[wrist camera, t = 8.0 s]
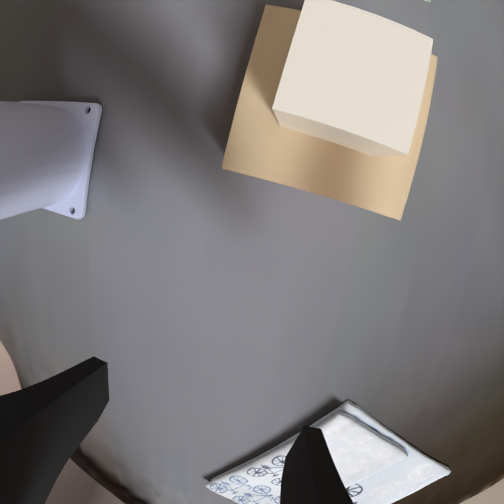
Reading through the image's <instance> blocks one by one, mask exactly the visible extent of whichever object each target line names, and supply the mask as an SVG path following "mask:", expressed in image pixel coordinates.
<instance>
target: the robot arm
mask: <svg viewBox="0 0 504 504" xmlns="http://www.w3.org/2000/svg"><path fill="white" fill-rule="evenodd" d="M89 108H91V110H90V112H89V113H88V109H89ZM101 113H102V106H101V105H100V104H98V103H87V102H67V101H19V102H9V101H0V220H1V219H4V218H8V217H11V216H14V215H18V214H21V213H25V212H28V211H32V210H35V209H39V208H43V209H47V210H50V211H53V212H56V213H59V214H62V215H66V216H69V217H72V218H75V219H82V218H83V217H84V216H85V213H86V204H87V195H88V187H89V179H90V172H91V166H92V159H93V153H94V148H95V142H96V137H97V132H98V127H99V122H100V117H101ZM73 208H74V209H75V213H74V212H73ZM108 401H109V389H108V368H107V363H106V362H104V361H102V360H100V359H98V358H96V357H92V358H90V359H88V360H85V361H83V362H81V363H79V364H77V365H75V366H74V367H72V368H70V369H68V370H65V371H63V372H61V373H59V374H57V375H55V376H53V377H51V378H49V379H46V380H44V381H42V382H39V383H37V384H34V385H32V386H29V387H27V388H24V389H22V390H19V391H16V392H12V393H9V394H5V395H2V396H0V504H45V502H46V500H47V497H48V496H49V494H50V491H51V489H52V487H53V485H54V483H55V482H56V479H57V478H58V476H59V474H60V472H61V471H62V469H63V467H64V465H65V464H66V462H67V461H68V459H69V458H70V457H71V455H72V454H73V453H74V451H75V450H76V449H77V447H78V446H79V445H80V443H81V442H82V441H83V439H84V438H85V437H86V435H87V434H88V433H89V432H90V430H91V429H92V428H93V426H94V425H95V423H96V422H97V421H98V419H99V417H100V416H101V414H102V412H103V410H104V409H105V407H106V405H107V403H108ZM280 504H354V503H353V501H352V499H351V498H350V496H349V494H348V492H347V490H346V488H345V486H344V484H343V482H342V480H341V477H340V475H339V473H338V471H337V469H336V466H335V464H334V461H333V459H332V456H331V454H330V451H329V449H328V446H327V443H326V440H325V438H324V435H323V432H322V430H321V429H320V428H315V427H309V426H303V428H302V430H301V432H300V433H299V435H298V437H297V439H296V440H295V442H294V444H293V445H292V447H291V449H290V450H289V452H288V454H287V455H286V457H285V462H284V467H283V473H282V479H281V492H280Z"/></svg>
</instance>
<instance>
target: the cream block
mask: <svg viewBox="0 0 504 504" xmlns="http://www.w3.org/2000/svg"><path fill="white" fill-rule="evenodd" d="M432 44H433V39H432V38H430V37H428V36H426V35H423V34H421V33H419V32H417V31H415V30H413V29H410V28H408V27H406V26H403V25H401V24H399V23H396V22H394V21H391V20H389V19H386V18H384V17H381V16H378V15H376V14H373V13H370V12H367V11H364V10H361V9H358V8H355V7H352V6H349V5H346V4H342V3H339V2H335V1H332V0H305V1H304V4H303V8H302V11H301V14H300V17H299V20H298V24H297V27H296V30H295V33H294V37H293V40H292V43H291V47H290V50H289V53H288V56H287V60H286V63H285V66H284V70H283V73H282V76H281V80H280V83H279V87H278V90H277V93H276V97H275V100H274V103H273V107H272V110H273V112H274V114H275V116H276V118H277V120H278V122H279V125H280V126H281V127H284V128H288V129H291V130H295V131H298V132H301V133H305V134H308V135H311V136H314V137H318V138H321V139H324V140H327V141H330V142H333V143H336V144H339V145H342V146H345V147H348V148H351V149H353V150H356V151H359V152H362V153H364V154H367V155H370V156H394V155H408V154H409V150H410V147H411V143H412V139H413V135H414V132H415V128H416V124H417V120H418V115H419V111H420V107H421V102H422V98H423V93H424V88H425V83H426V78H427V73H428V68H429V62H430V56H431V50H432Z"/></svg>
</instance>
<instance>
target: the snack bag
mask: <svg viewBox="0 0 504 504" xmlns="http://www.w3.org/2000/svg"><path fill="white" fill-rule="evenodd" d="M309 427H315V428H320V429H321V430H322V432H323V435H324V438H325V440H326V443H327V446H328V449H329V451H330V454H331V456H332V459H333V461H334V464H335V466H336V469H337V471H338V473H339V475H340V477H341V480H342V482H343V484H344V486H345V488H347V487H349V486H350V488H349V489H347V492H348V494H349V496H350V498H351V499H352V501H353V503H354V504H391V503H393V502H395V501H397V500H399V499H401V498H403V497H406V496H408V495H410V494H412V493H414V492H416V491H418V490H419V489H421V488H423V487H425V486H426V485H428V484H430V483H432V482H434V481H436V480H438V479H440V478H442V477H444V476H447V475H448V474H450V472H451V470H449V467H447V466H445V465H443V464H441V463H438V462H437V461H435V460H433V459H431V458H430V457H428V456H426V455H424V454H423V453H422V452H420V451H419V450H417V449H416V448H414V447H413V446H411V445H410V444H409V443H407V442H406V441H405V440H403V439H402V438H400V437H399V436H398V435H396V434H395V433H393V432H392V431H391V430H389V429H388V428H386V427H385V426H384V425H382V424H381V423H380V422H378V421H377V420H376V419H374V418H373V417H372V416H371V415H370V414H368V413H367V412H365V411H364V410H363V409H362V408H361V407H359V406H358V405H356V404H354V403H352V402H351V401H349V400H347V401H346V402H344V403H343V404H342V405H340V406H339V407H338V408H336V409H335V410H333V411H332V412H330V413H329V414H327V415H326V416H324V417H322V418H321V419H319V420H318V421H316V422H315V423H313V424H312V425H310V426H309ZM300 432H301V431H300ZM300 432H299V433H300ZM299 433H297V434H296V435H294V436H292V437H291V438H289V439H287V440H286V441H284V442H282V443H281V444H279V445H277V446H276V447H274V448H272V449H270V450H268V451H266V452H264V453H263V454H261V455H259V456H257V457H255V458H253V459H251V460H249V461H247V462H245V463H243V464H241V465H239V466H237V467H235V468H233V469H231V470H229V471H227V472H224V473H222V474H221V475H219V476H217V477H215V478H212V479H210V480H211V482H208V483H206V484H205V486H206V487H207V488H208V489H210V490H212V491H214V492H216V493H217V494H220V495H222V496H224V497H226V498H229V499H231V500H233V501H235V502H237V503H238V504H280V492H281V479H282V473H283V467H284V462H285V457H286V455H287V454H288V452H289V450H290V449H291V447H292V445H293V444H294V442H295V440H296V439H297V437H298V435H299Z"/></svg>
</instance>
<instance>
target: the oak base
mask: <svg viewBox="0 0 504 504" xmlns="http://www.w3.org/2000/svg"><path fill="white" fill-rule="evenodd" d="M300 14H301V11H300V10H295V9H290V8H285V7H279V6H273V5H267V4H266V6H265V9H264V12H263V16H262V19H261V22H260V26H259V29H258V32H257V35H256V39H255V42H254V46H253V49H252V53H251V56H250V60H249V63H248V67H247V70H246V74H245V77H244V81H243V85H242V88H241V92H240V96H239V99H238V103H237V107H236V111H235V115H234V119H233V122H232V126H231V130H230V134H229V138H228V142H227V146H226V150H225V155H224V159H223V163H222V167H221V169H225V170H229V171H233V172H237V173H241V174H245V175H249V176H253V177H257V178H261V179H265V180H269V181H272V182H276V183H280V184H284V185H287V186H291V187H294V188H298V189H301V190H305V191H308V192H312V193H315V194H319V195H322V196H325V197H329V198H332V199H335V200H339V201H342V202H345V203H348V204H352V205H355V206H358V207H361V208H364V209H367V210H370V211H373V212H376V213H379V214H382V215H385V216H388V217H391V218H394V219H397V220H401V217H402V214H403V210H404V207H405V204H406V201H407V197H408V194H409V190H410V187H411V183H412V180H413V176H414V172H415V169H416V165H417V161H418V157H419V153H420V149H421V145H422V140H423V136H424V132H425V127H426V122H427V117H428V112H429V107H430V102H431V97H432V91H433V85H434V79H435V72H436V65H437V58H438V57H436V56H434V55H432V54H431V56H430V62H429V68H428V73H427V78H426V83H425V88H424V93H423V98H422V102H421V107H420V111H419V115H418V120H417V124H416V128H415V132H414V135H413V139H412V143H411V147H410V150H409V154H408V155H394V156H370V155H367V154H364V153H362V152H359V151H356V150H353V149H351V148H348V147H345V146H342V145H339V144H336V143H333V142H330V141H327V140H324V139H321V138H318V137H314V136H311V135H308V134H305V133H301V132H298V131H295V130H291V129H288V128H284V127H281V126H280V125H279V122H278V120H277V118H276V116H275V114H274V112H273V110H272V107H273V103H274V100H275V97H276V93H277V90H278V87H279V83H280V80H281V76H282V73H283V70H284V66H285V63H286V60H287V56H288V53H289V50H290V47H291V43H292V40H293V37H294V33H295V30H296V27H297V24H298V20H299V17H300Z"/></svg>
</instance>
